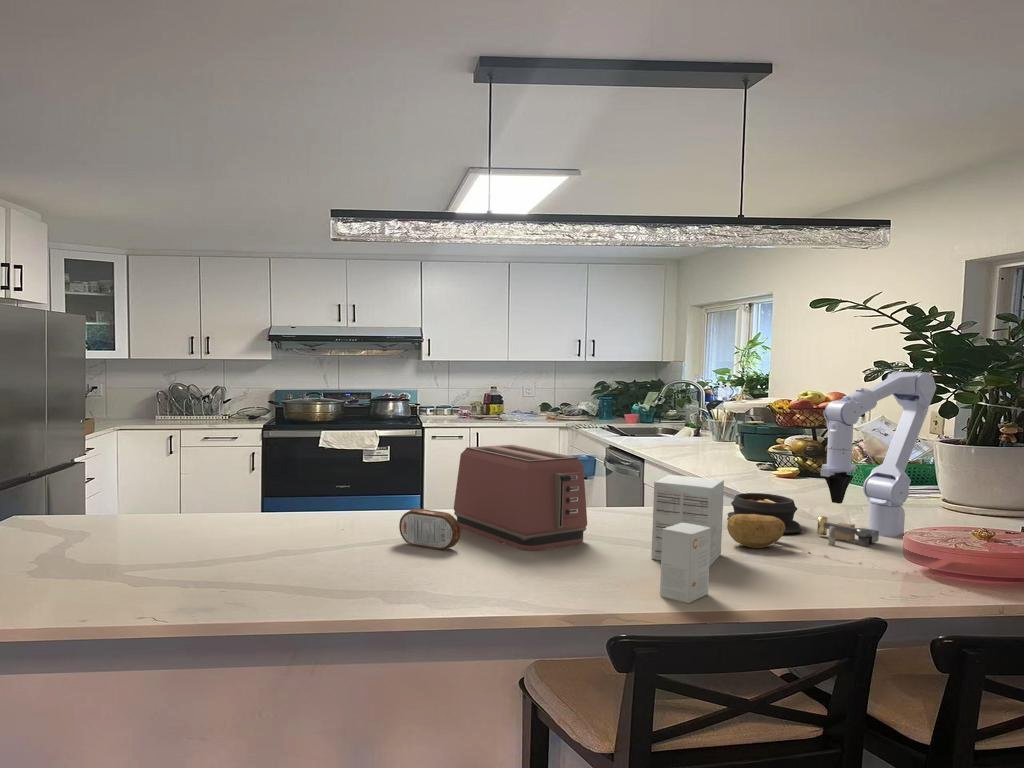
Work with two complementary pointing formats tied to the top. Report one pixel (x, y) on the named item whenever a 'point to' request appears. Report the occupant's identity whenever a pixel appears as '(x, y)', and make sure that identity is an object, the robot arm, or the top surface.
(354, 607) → the top surface
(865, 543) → the press base
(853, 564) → the top surface
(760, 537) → the potato
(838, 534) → the nut block
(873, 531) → the lever
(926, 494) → the top surface
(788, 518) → the casserole
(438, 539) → the tin
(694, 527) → the small box
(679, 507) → the supplement box
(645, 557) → the top surface
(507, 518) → the toaster
